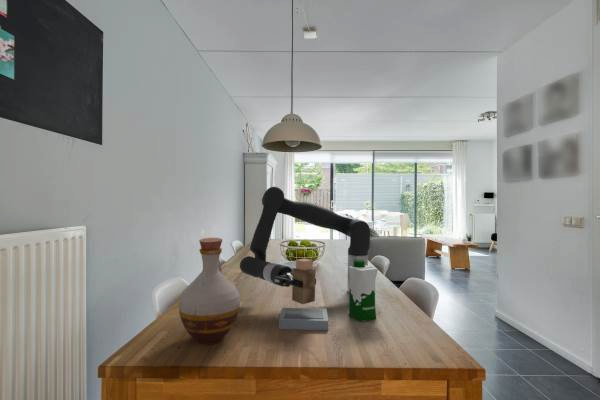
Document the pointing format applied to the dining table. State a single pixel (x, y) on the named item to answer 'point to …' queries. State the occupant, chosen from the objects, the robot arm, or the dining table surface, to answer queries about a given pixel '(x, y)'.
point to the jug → (209, 298)
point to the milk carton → (362, 291)
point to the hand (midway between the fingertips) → (309, 283)
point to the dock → (303, 319)
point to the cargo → (304, 264)
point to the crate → (304, 286)
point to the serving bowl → (293, 264)
